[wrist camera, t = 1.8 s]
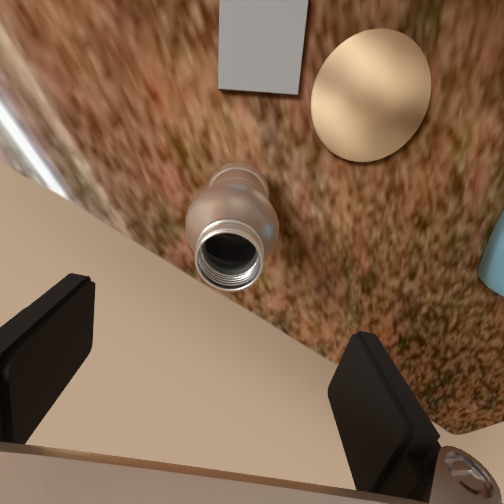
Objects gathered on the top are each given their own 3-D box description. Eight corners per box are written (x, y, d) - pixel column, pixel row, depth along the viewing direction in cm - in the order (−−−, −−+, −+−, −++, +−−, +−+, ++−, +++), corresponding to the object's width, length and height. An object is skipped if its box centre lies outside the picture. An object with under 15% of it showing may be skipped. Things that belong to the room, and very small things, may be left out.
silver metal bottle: (246, 226, 36) (244, 333, 17) (199, 193, 34) (142, 272, 16) (279, 183, 34) (318, 252, 15) (231, 146, 32) (209, 173, 14)
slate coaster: (220, -11, 27) (219, -14, 26) (307, -3, 27) (308, -6, 26) (218, 89, 30) (218, 88, 29) (296, 95, 30) (297, 94, 30)
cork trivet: (333, 14, 28) (335, 11, 27) (448, 51, 29) (453, 49, 28) (295, 146, 32) (296, 146, 31) (396, 172, 33) (399, 173, 33)
